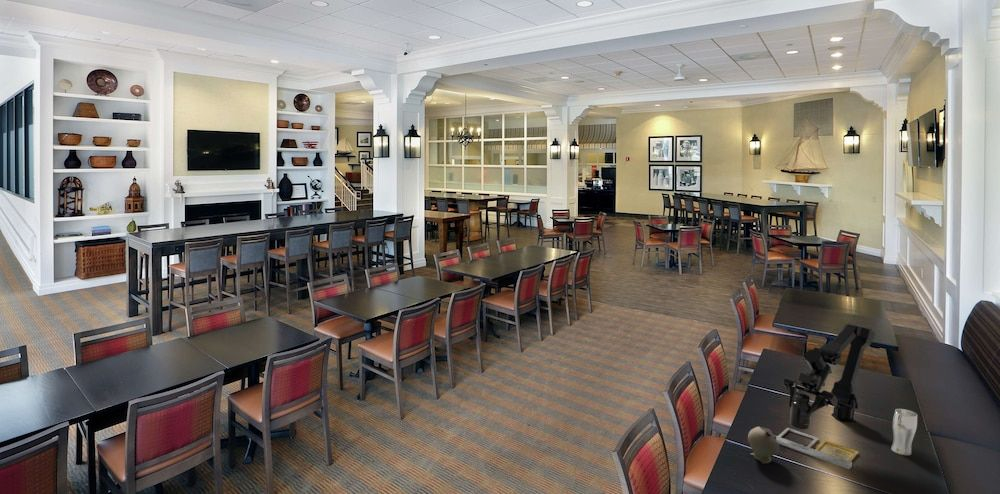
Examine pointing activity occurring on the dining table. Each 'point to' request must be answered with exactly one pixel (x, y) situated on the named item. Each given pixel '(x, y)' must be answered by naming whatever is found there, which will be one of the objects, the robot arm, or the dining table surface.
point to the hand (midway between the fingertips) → (799, 410)
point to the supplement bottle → (800, 412)
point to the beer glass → (903, 431)
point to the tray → (827, 453)
